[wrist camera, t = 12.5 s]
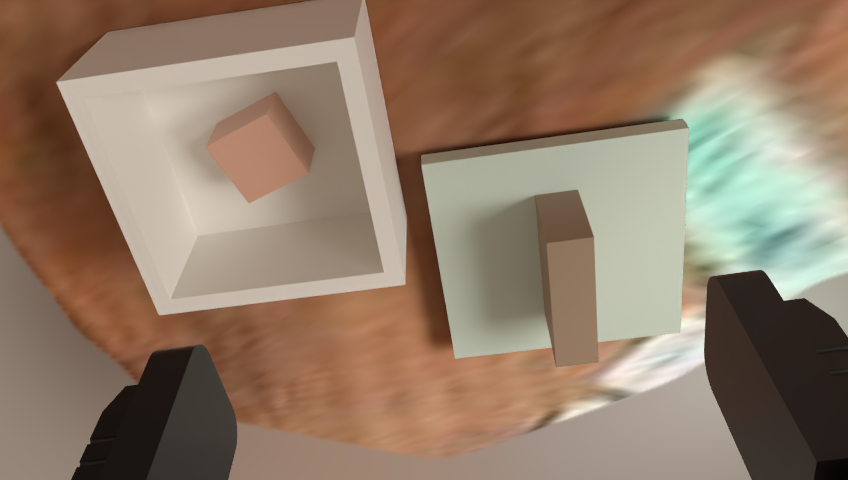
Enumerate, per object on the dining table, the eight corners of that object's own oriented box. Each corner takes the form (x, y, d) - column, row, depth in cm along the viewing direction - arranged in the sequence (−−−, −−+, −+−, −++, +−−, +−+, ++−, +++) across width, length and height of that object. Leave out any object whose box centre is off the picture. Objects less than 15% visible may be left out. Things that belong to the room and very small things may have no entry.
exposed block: (275, 91, 42) (266, 113, 40) (314, 148, 44) (308, 173, 42) (217, 123, 44) (204, 147, 41) (258, 177, 45) (248, 203, 43)
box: (363, -8, 40) (354, 37, 34) (406, 217, 48) (405, 284, 42) (107, 31, 41) (56, 82, 35) (189, 245, 49) (159, 315, 43)
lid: (677, 111, 44) (718, 171, 38) (671, 311, 53) (703, 386, 47) (421, 147, 45) (421, 211, 39) (453, 337, 54) (458, 413, 48)
